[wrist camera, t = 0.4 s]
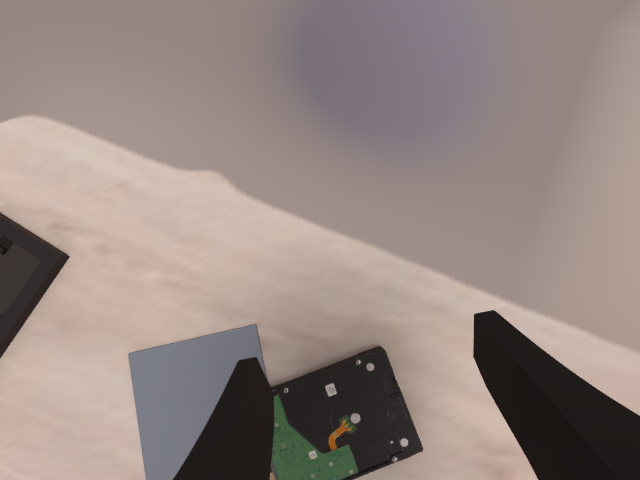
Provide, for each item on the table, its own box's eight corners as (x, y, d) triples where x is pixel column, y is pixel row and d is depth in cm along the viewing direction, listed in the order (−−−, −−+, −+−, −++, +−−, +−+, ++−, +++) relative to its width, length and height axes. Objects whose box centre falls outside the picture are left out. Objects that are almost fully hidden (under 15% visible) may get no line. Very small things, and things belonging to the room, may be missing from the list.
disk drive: (379, 342, 38) (248, 395, 37) (384, 346, 35) (243, 404, 34) (417, 438, 37) (283, 496, 36) (426, 451, 34) (280, 513, 33)
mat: (299, 544, 35) (298, 546, 35) (161, 577, 35) (160, 578, 35) (256, 324, 38) (255, 324, 38) (129, 353, 38) (128, 353, 38)
